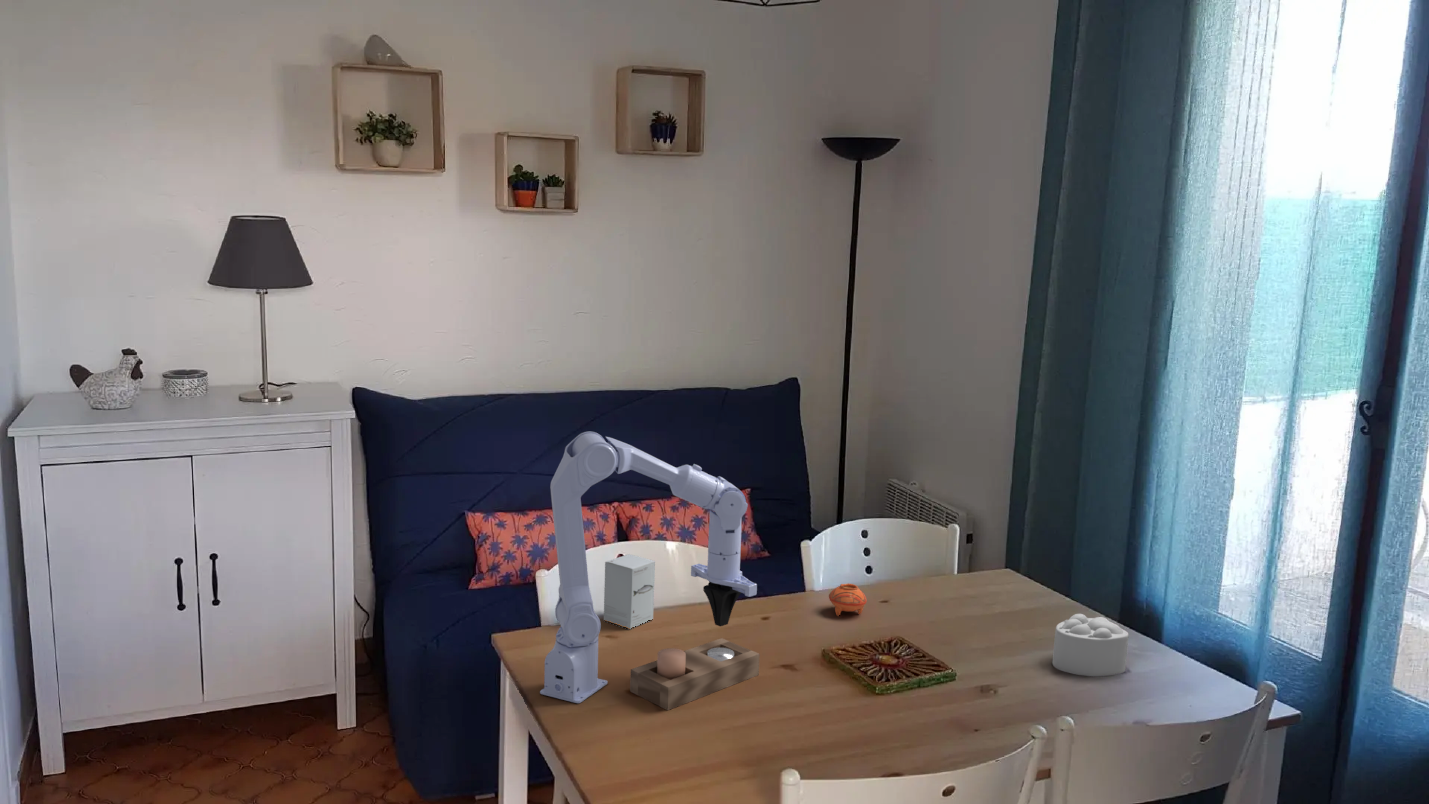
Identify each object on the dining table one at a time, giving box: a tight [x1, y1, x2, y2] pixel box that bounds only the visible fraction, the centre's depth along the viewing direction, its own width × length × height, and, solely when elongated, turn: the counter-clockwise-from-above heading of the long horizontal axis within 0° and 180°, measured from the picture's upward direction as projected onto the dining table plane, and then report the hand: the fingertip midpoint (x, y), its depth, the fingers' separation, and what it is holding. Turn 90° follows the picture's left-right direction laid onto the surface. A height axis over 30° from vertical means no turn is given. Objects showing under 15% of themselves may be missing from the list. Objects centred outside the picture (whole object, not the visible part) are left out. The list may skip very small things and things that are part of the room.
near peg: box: [656, 647, 686, 680], centre depth 187 cm, size 5×5×4 cm
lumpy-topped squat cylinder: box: [1051, 613, 1130, 677], centre depth 206 cm, size 10×13×9 cm
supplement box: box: [603, 553, 656, 630], centre depth 220 cm, size 7×7×13 cm
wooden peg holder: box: [629, 637, 761, 711], centre depth 192 cm, size 22×10×4 cm, turn 135°
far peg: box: [707, 648, 734, 661], centre depth 196 cm, size 5×5×4 cm
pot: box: [828, 583, 868, 617], centre depth 229 cm, size 8×8×7 cm
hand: (721, 624), depth 195 cm, fingers closed
